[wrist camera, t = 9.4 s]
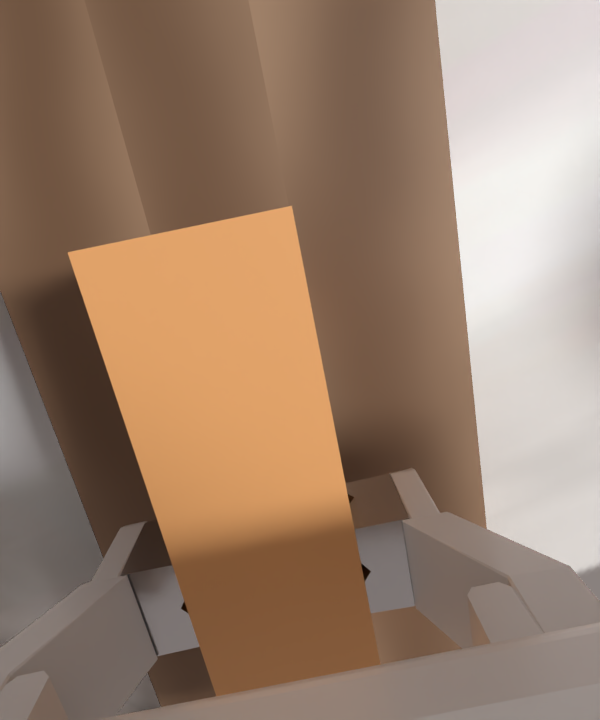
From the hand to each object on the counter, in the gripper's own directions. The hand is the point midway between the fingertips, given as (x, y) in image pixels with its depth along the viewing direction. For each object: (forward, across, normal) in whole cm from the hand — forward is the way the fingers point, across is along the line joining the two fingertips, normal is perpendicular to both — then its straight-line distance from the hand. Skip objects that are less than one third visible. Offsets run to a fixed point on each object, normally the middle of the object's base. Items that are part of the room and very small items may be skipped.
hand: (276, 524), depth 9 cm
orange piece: (+4, 0, 0) cm, 4 cm away
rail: (+5, 0, 0) cm, 5 cm away
